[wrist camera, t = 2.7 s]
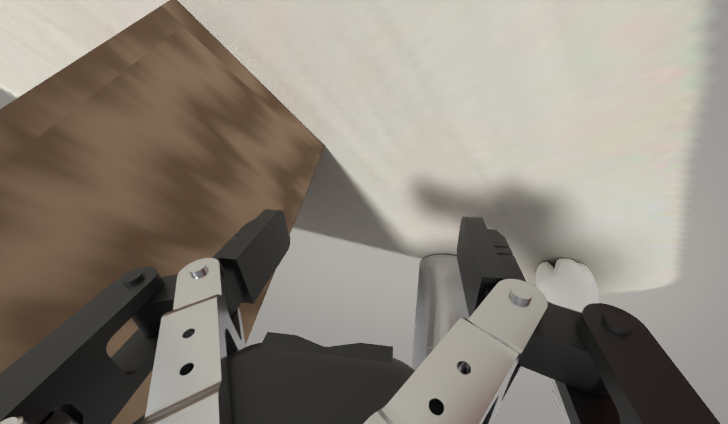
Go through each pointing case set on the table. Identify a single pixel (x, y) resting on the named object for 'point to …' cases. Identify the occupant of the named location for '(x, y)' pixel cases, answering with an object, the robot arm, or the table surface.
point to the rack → (136, 174)
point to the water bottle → (566, 293)
